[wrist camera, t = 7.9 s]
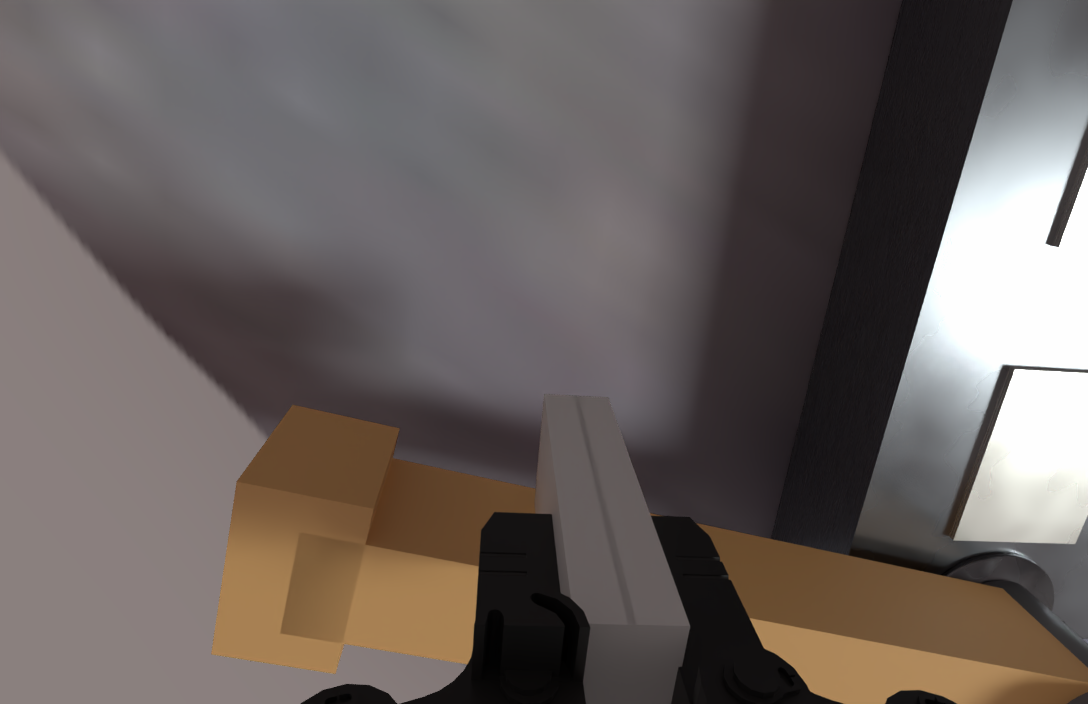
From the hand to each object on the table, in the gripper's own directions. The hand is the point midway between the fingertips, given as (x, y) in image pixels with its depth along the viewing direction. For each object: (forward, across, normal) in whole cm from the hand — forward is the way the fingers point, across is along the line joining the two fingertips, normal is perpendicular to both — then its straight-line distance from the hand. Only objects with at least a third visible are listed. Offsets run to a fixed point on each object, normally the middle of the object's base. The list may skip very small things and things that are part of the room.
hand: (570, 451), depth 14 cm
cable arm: (+1, +4, -4) cm, 5 cm away
